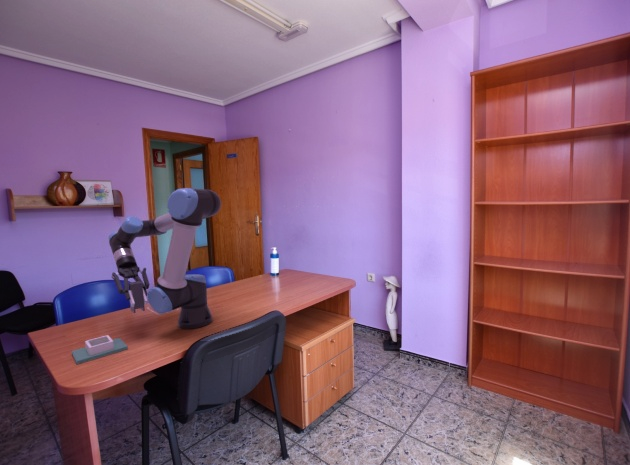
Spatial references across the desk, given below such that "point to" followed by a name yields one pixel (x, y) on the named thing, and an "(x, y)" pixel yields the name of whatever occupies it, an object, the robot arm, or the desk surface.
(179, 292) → the robot arm
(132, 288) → the block
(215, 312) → the desk surface
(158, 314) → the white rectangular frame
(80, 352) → the board
